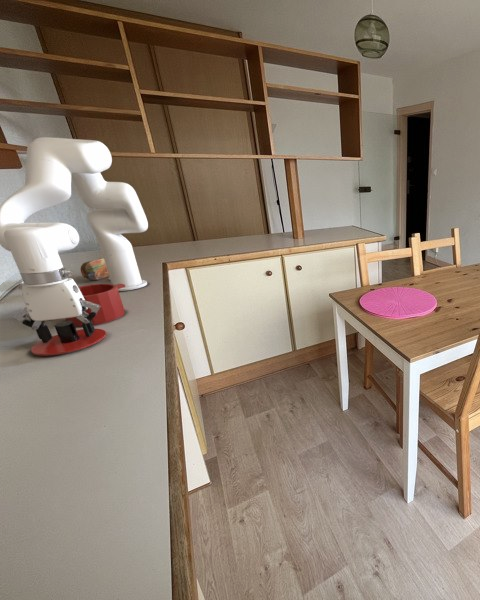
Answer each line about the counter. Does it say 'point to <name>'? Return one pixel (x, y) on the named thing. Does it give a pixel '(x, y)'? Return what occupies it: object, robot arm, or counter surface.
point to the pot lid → (67, 340)
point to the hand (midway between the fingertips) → (69, 337)
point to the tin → (94, 269)
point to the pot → (102, 302)
